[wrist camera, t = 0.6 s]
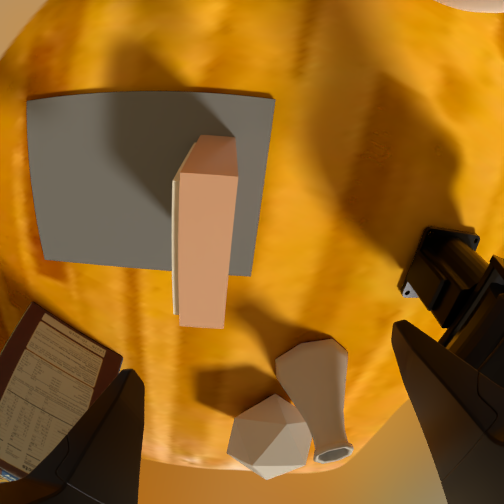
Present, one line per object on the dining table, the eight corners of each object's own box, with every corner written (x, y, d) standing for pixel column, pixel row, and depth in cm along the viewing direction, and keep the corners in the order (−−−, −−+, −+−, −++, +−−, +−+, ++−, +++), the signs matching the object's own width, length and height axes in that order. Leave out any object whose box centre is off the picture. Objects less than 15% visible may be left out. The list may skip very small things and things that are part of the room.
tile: (235, 137, 18) (238, 176, 11) (224, 243, 21) (223, 328, 14) (195, 134, 17) (171, 171, 10) (190, 240, 21) (173, 325, 14)
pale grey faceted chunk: (215, 388, 31) (207, 474, 27) (286, 396, 25) (275, 499, 21) (267, 391, 36) (259, 465, 33) (332, 395, 31) (323, 479, 27)
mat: (274, 99, 17) (275, 99, 17) (250, 273, 23) (250, 276, 22) (30, 100, 15) (26, 101, 15) (46, 256, 21) (44, 259, 21)
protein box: (12, 370, 28) (-29, 471, 15) (32, 298, 23) (-44, 442, 10) (82, 410, 32) (57, 515, 19) (127, 356, 27) (94, 512, 14)
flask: (261, 354, 27) (273, 455, 19) (339, 326, 26) (374, 424, 18) (288, 392, 31) (302, 477, 22) (353, 369, 30) (381, 452, 21)
